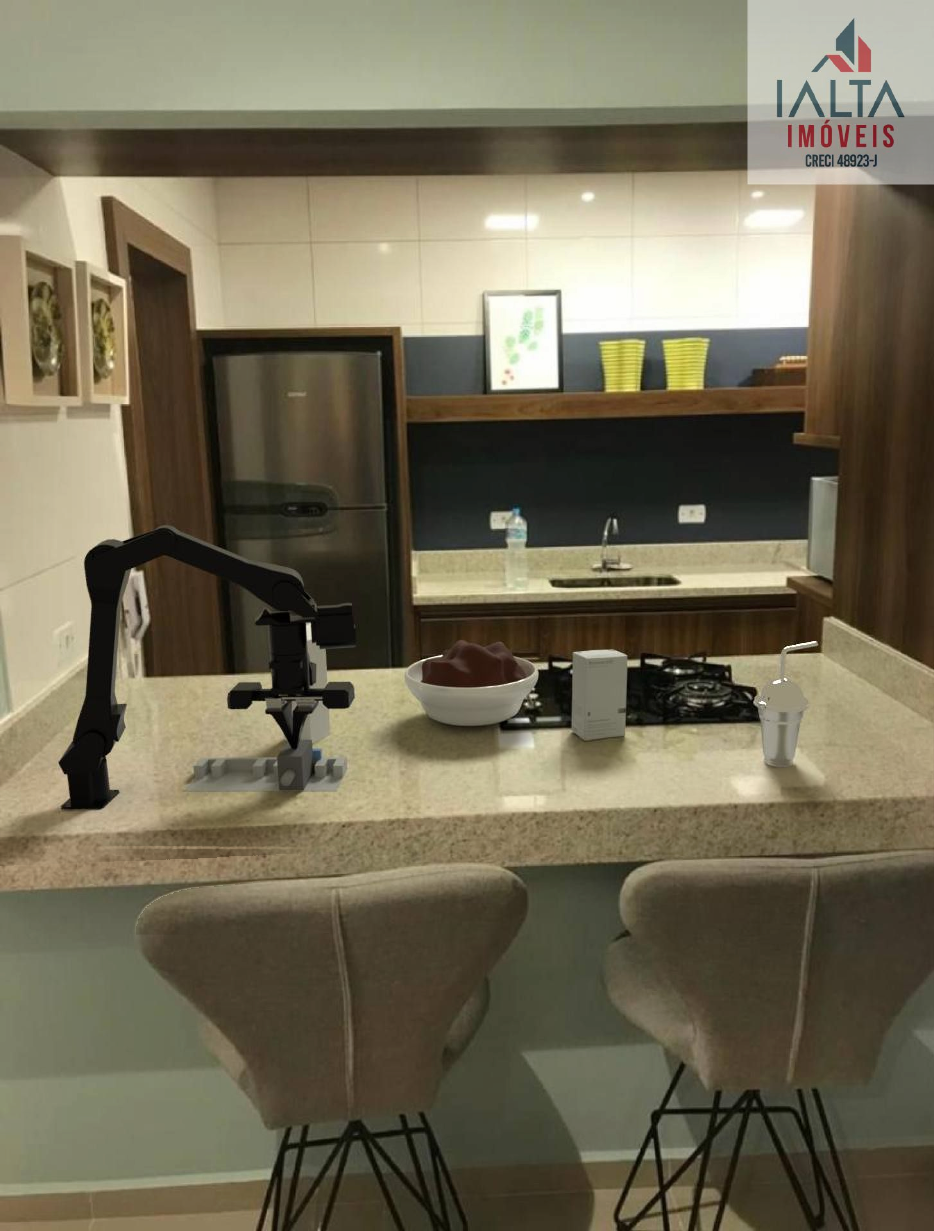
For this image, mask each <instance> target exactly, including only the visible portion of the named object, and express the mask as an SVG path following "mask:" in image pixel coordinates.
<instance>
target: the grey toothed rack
mask: <svg viewBox="0 0 934 1231" xmlns="http://www.w3.org/2000/svg"><path fill="white" fill-rule="evenodd" d="M312 748H313V747H312ZM322 750H323V749H322V748H318V747H317V748H316V747H315V748H313V765H314V773H313V775H312V776H311V778H310V780H309V782H308V784H307V785H306V787H305V789H304V790H279V779H278V764H277V756H276V757H274V756H273V757H265V756H264V757H262V756H261V757H200V758H199V759H198V760H197V762H196V763H194V764H193V776H194V777H193V779H191V781H190V782H189V783H188V784H187V785H186V787H185V788H184V789H183V791H182V792H337V791H338V789H339V788H340V785H341V783H342V781H343V779H344V777H345V775H346V773H347V770H348V760H347V756H343V757H342V756H341V757H339V756H337V757H334V756H333V757H331V756H330V757H327V756H326V757H325V756H324V757H323V751H322Z"/></svg>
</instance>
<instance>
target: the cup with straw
mask: <svg viewBox="0 0 934 1231" xmlns="http://www.w3.org/2000/svg"><path fill="white" fill-rule="evenodd" d="M817 646H819V643H818V641H817V640H816V641H811V642H805V643H799V644H796V645H789V646H786V647H784V648H783V649H782V650H781V652H780V666H779V667H780V668H779V671H780V672H779V678H775V679H772V680H770V681H768V682H766V683H765V684H764V685H763V686H762V688H761V689H760V691H759V693H758V694H757V695H756V696H754V700H753V705H754V706H755V707H757V709H758V715H759V716H758V717H759V720H760V727H761V728H760V729H761V731H760V732H761V742H762V754H763V756H764V758H763V762H764V764H766V765H769V766H772V767H777V768H786V767H787V768H788V767H790V766H793V764H794V758H795V755H796V749H797V744H798V740H799V739H798V738H799V732H800V728H801V723H802V720H803V718H804V713H805V711H807V710H809V708H810V707H811V706H810V702H809V699H807V697H805V694H804V692H803V690H802V688H801V687H800V686H799V685H798V684H797V683H796V682H795V681H792V680H790V679H787V678H785V676H786V675H785V674H786V654H787V653H788V652H791V651H797V650H801V649H807V648H811V647H817Z"/></svg>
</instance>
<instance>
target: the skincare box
mask: <svg viewBox="0 0 934 1231" xmlns="http://www.w3.org/2000/svg"><path fill="white" fill-rule="evenodd" d="M571 680H572V684H571V685H572V690H571V691H572V696H571V731H572V732H573V733H574V734H576V735H577V736H578V737H579V738H580V739H581V740H582V741H586V742H587V741H588V742H589V741H594V740H601V739H607V738H616V737H617V738H618V737H624V736H626V724H627V723H626V720H627V718H626V716H627V681H628V655H627V654H625V653H622V652H620V651H617V650H615V649H594V650H583V651H574V652H572V679H571Z"/></svg>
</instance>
